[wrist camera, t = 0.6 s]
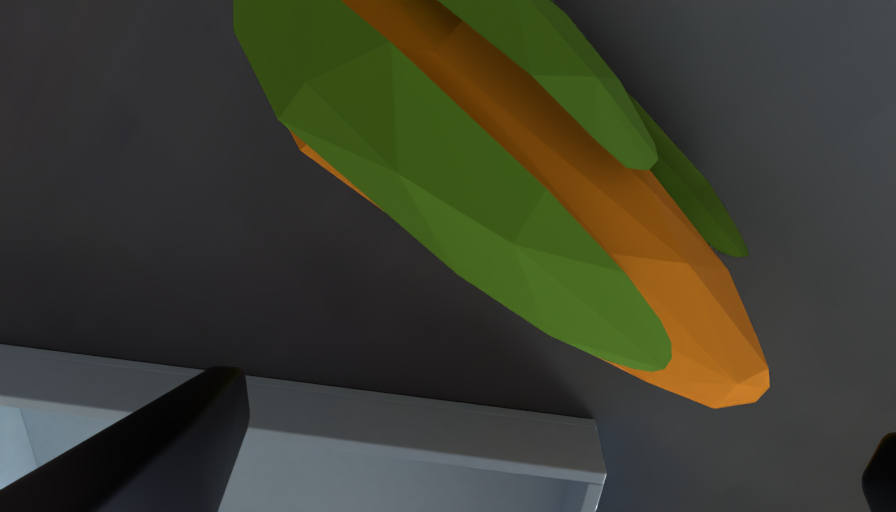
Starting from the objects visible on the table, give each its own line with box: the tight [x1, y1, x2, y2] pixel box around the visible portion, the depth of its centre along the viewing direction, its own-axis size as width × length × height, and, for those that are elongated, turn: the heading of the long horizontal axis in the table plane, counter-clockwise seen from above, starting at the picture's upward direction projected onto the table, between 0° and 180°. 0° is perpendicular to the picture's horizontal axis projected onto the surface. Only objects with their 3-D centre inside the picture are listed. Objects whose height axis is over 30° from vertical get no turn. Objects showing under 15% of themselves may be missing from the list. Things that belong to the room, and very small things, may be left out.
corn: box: [233, 0, 770, 408], centre depth 16 cm, size 7×8×20 cm
